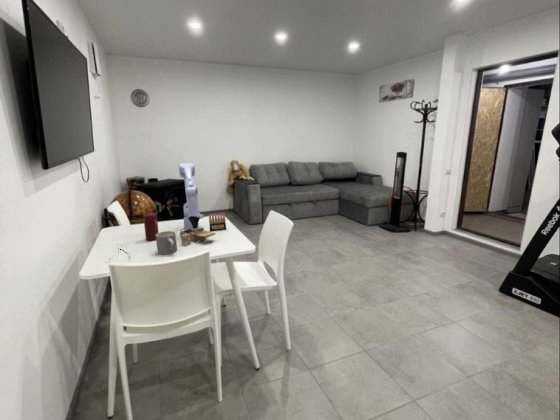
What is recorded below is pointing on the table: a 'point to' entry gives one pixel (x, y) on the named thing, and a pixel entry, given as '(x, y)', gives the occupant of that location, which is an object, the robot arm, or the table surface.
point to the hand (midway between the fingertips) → (195, 228)
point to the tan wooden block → (185, 239)
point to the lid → (201, 233)
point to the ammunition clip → (216, 224)
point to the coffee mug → (166, 242)
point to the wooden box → (192, 237)
